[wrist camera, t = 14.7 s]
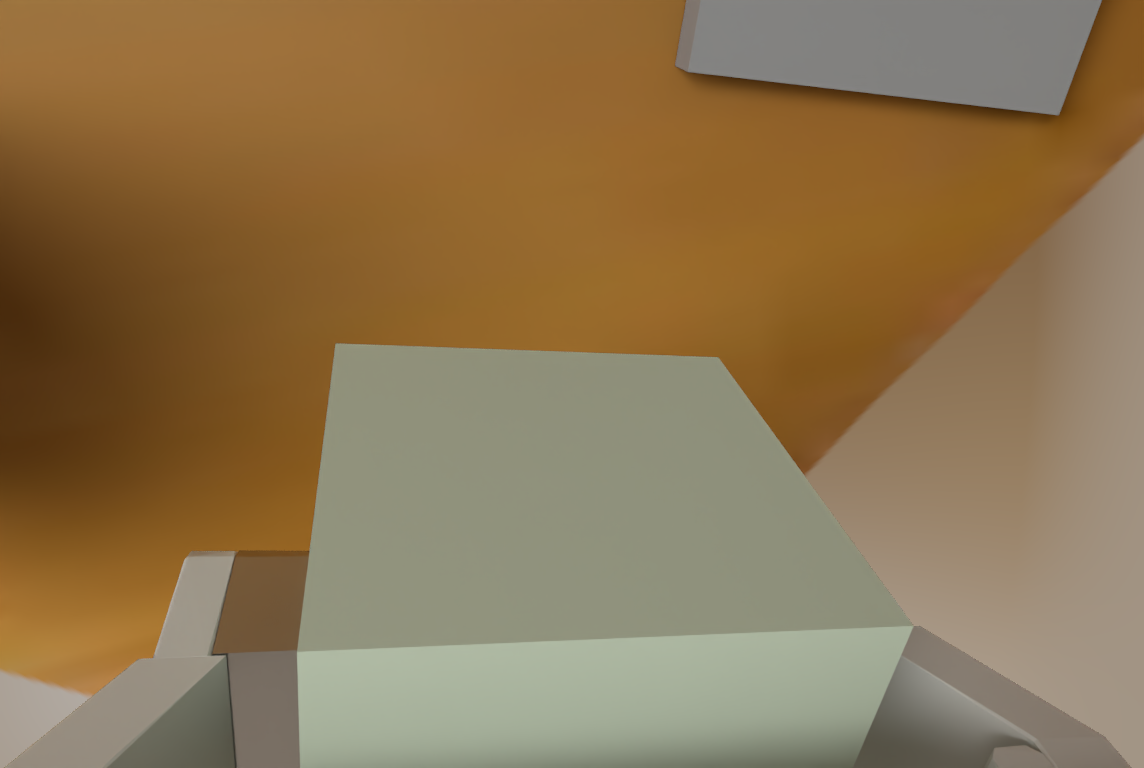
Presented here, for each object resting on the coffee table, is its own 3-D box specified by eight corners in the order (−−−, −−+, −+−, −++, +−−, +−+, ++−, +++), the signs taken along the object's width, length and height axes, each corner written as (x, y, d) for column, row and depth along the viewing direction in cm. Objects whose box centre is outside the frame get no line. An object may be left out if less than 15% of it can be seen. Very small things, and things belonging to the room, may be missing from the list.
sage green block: (335, 343, 10) (296, 652, 6) (718, 357, 11) (913, 625, 7) (335, 643, 13) (306, 1019, 8) (653, 629, 14) (771, 955, 10)
